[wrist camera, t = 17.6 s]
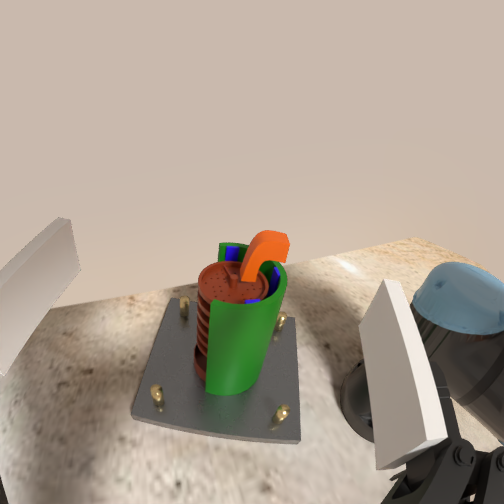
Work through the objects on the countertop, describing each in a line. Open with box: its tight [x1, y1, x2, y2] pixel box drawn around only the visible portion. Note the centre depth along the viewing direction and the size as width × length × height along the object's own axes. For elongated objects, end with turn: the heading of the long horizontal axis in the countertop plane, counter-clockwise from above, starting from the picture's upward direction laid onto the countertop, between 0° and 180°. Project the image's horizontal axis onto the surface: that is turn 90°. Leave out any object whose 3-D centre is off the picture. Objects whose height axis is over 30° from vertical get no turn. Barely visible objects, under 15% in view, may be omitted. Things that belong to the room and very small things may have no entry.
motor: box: [194, 230, 290, 396], centre depth 32 cm, size 10×9×20 cm
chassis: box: [131, 296, 301, 444], centre depth 37 cm, size 20×21×4 cm
